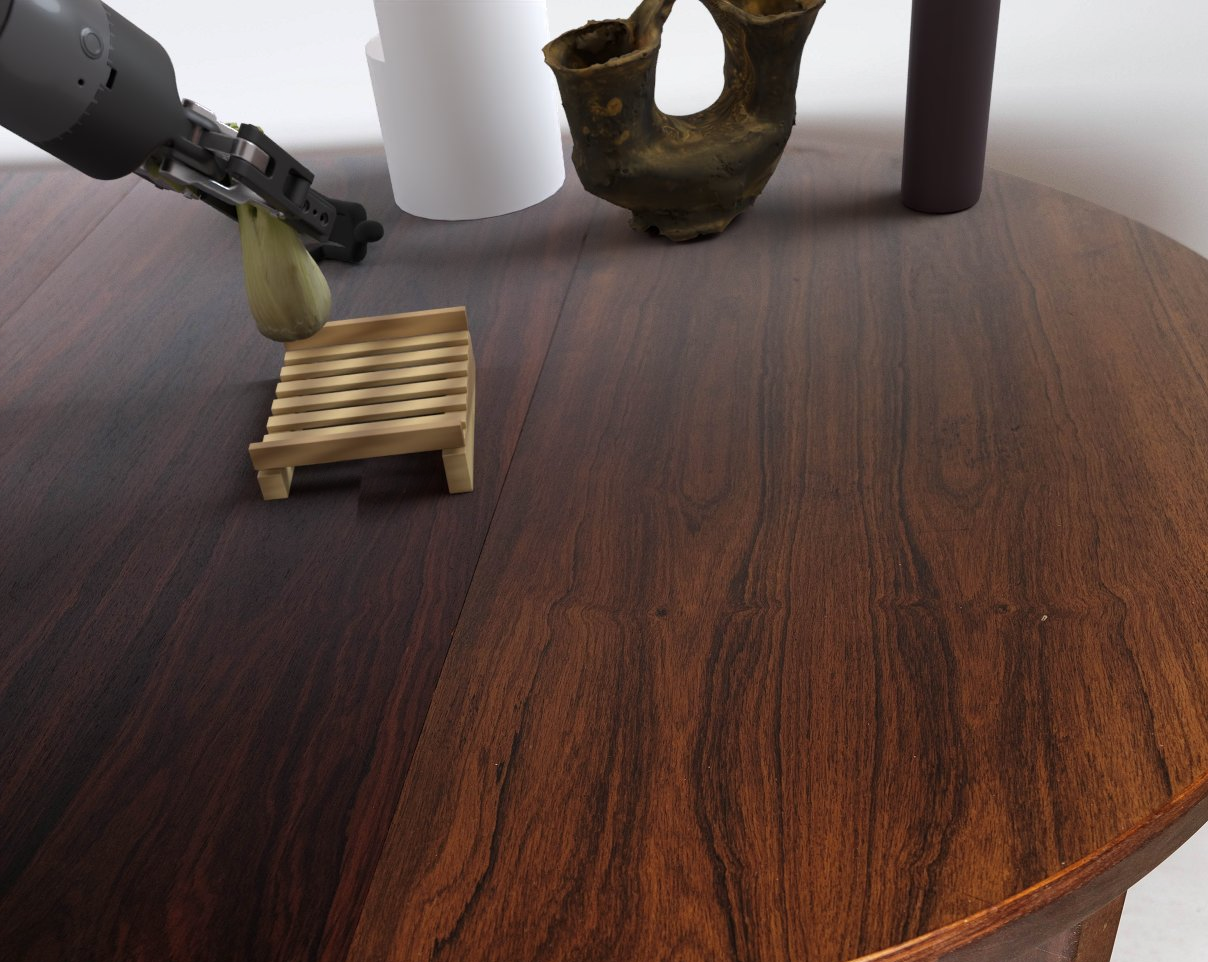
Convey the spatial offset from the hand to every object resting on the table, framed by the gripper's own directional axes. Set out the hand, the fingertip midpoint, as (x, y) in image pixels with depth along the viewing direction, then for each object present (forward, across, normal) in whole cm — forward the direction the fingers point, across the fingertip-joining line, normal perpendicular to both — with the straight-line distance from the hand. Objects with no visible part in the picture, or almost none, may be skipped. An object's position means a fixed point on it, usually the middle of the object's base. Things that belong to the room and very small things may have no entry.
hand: (290, 218), depth 76 cm
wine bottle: (+57, +15, +30) cm, 66 cm away
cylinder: (+47, -29, +20) cm, 59 cm away
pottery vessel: (+48, -4, +21) cm, 53 cm away
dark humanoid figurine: (+33, -36, +6) cm, 50 cm away
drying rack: (+18, -4, -9) cm, 20 cm away
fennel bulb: (+3, 0, -6) cm, 7 cm away
